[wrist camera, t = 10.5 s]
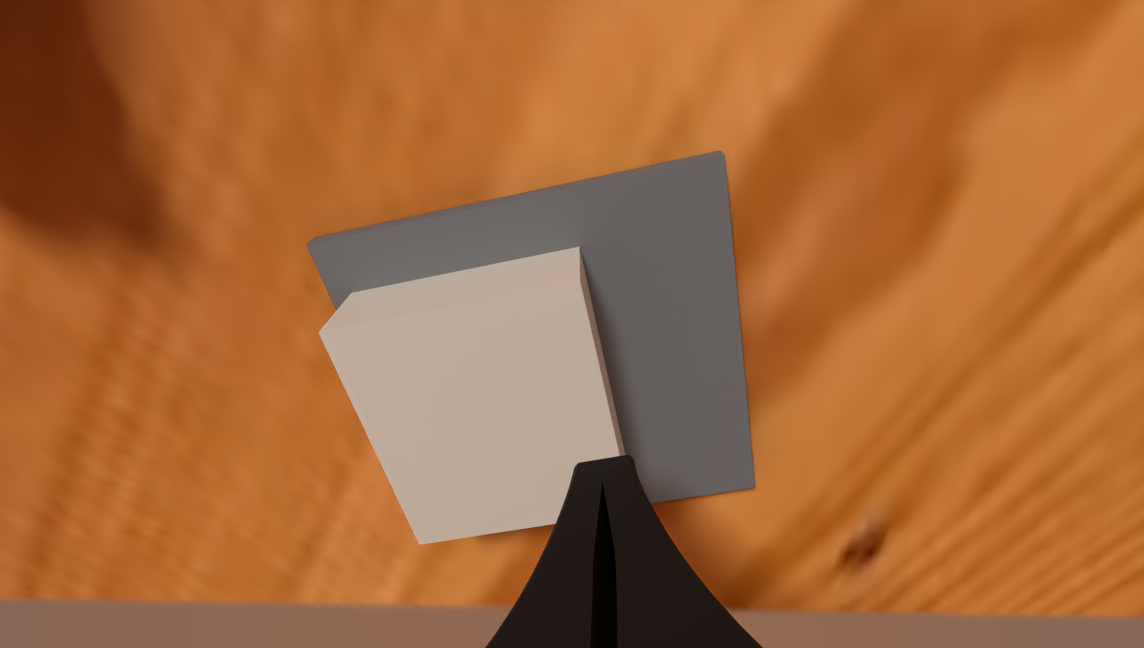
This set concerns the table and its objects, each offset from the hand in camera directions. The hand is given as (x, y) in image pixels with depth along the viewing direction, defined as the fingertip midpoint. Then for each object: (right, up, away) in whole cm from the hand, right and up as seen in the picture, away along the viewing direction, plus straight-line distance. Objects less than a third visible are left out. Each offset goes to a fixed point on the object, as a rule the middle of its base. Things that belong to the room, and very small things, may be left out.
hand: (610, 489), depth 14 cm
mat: (-1, +2, +5) cm, 6 cm away
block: (0, +2, +3) cm, 4 cm away
